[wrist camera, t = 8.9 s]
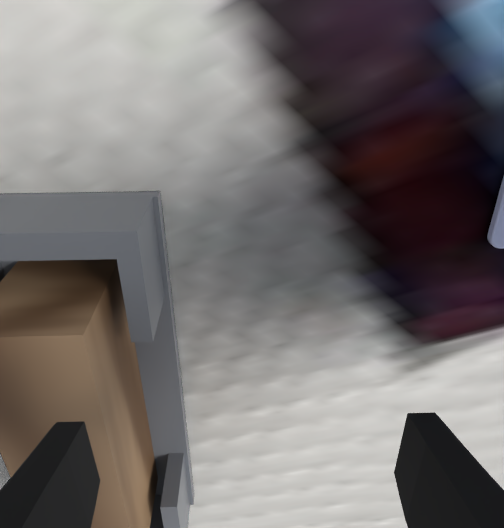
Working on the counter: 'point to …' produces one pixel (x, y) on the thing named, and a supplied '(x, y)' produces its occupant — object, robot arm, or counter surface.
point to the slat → (76, 378)
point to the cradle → (135, 299)
